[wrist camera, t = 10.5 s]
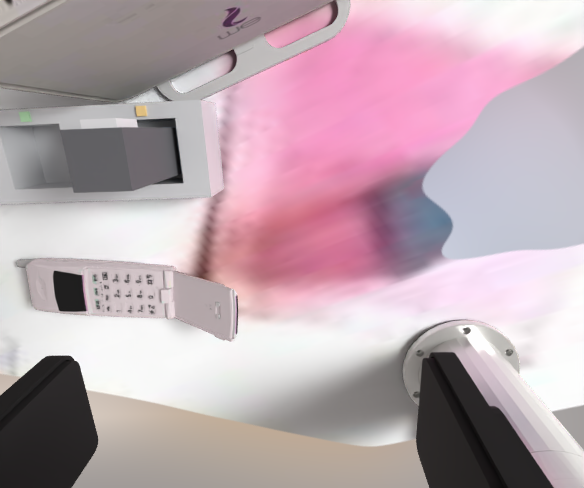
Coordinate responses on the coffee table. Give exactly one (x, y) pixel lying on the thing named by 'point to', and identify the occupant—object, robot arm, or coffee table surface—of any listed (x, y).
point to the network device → (143, 43)
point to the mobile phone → (131, 292)
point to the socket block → (49, 121)
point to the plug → (119, 155)
